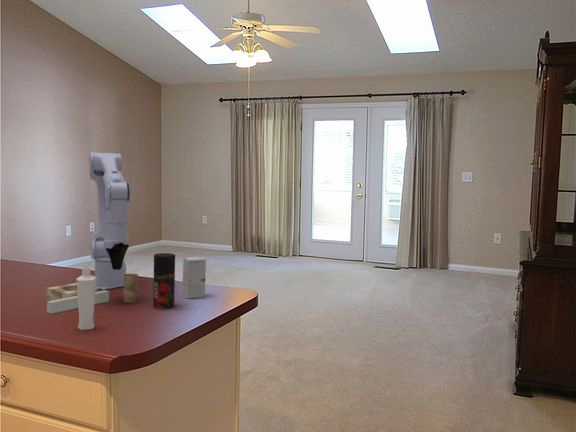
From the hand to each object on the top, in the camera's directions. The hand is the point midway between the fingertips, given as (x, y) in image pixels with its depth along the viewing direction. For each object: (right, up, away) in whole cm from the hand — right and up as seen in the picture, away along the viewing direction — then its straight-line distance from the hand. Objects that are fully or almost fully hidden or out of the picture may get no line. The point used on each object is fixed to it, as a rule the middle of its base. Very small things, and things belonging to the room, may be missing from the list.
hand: (117, 269), depth 153 cm
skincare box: (+21, -10, +10) cm, 25 cm away
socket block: (-12, -9, -2) cm, 16 cm away
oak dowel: (+4, -10, +1) cm, 10 cm away
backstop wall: (-8, -10, -7) cm, 15 cm away
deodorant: (+14, -11, -3) cm, 18 cm away
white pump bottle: (0, -12, -25) cm, 28 cm away
